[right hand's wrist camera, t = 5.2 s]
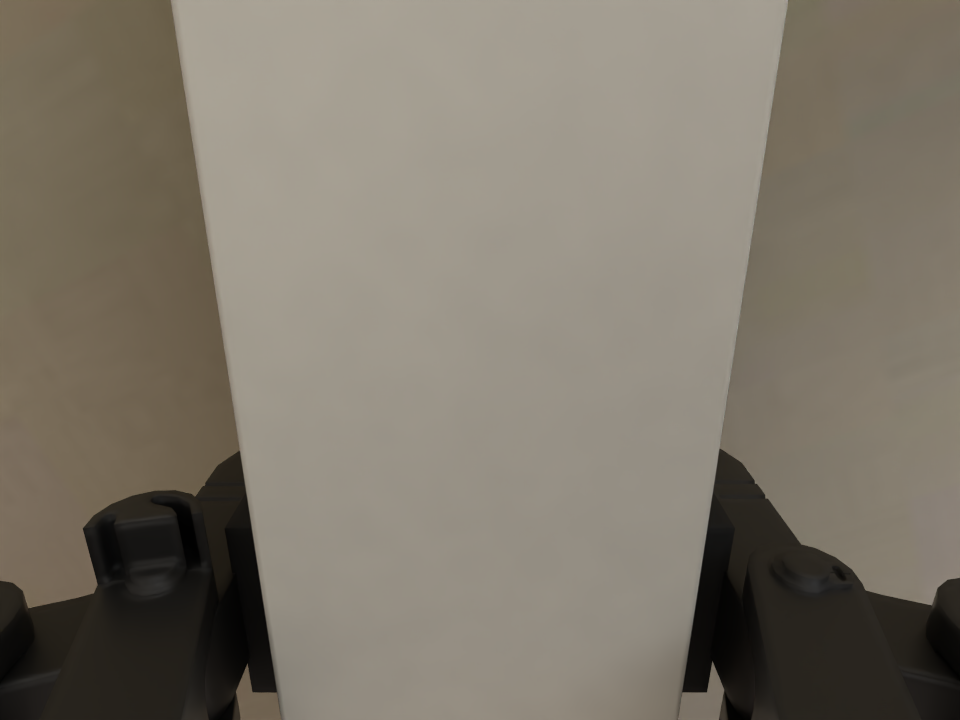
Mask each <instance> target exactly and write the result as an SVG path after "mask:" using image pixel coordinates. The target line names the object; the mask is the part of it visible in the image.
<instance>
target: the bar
mask: <svg viewBox="0 0 960 720" xmlns="http://www.w3.org/2000/svg"><path fill="white" fill-rule="evenodd" d="M787 5H788V0H171V6H172V13H173V19H174V25H175V32H176V38H177V45H178V51H179V58H180V64H181V71H182V77H183V84H184V90H185V97H186V103H187V110H188V116H189V123H190V129H191V136H192V142H193V149H194V155H195V162H196V168H197V175H198V181H199V188H200V194H201V201H202V207H203V214H204V220H205V227H206V233H207V240H208V246H209V253H210V259H211V266H212V272H213V279H214V285H215V292H216V298H217V305H218V311H219V318H220V324H221V331H222V337H223V344H224V350H225V357H226V363H227V370H228V376H229V383H230V389H231V396H232V402H233V409H234V415H235V422H236V428H237V435H238V441H239V448H240V454H241V461H242V467H243V474H244V480H245V487H246V493H247V500H248V506H249V513H250V519H251V526H252V532H253V539H254V545H255V551H256V558H257V564H258V571H259V577H260V584H261V590H262V597H263V603H264V610H265V616H266V623H267V629H268V636H269V642H270V649H271V655H272V662H273V668H274V675H275V681H276V688H277V694H278V701H279V707H280V714H281V720H678V716H679V709H680V703H681V696H682V690H683V683H684V677H685V670H686V664H687V657H688V651H689V644H690V638H691V631H692V625H693V618H694V612H695V605H696V599H697V592H698V586H699V579H700V573H701V566H702V559H703V553H704V546H705V540H706V533H707V527H708V520H709V514H710V507H711V501H712V494H713V488H714V481H715V475H716V468H717V462H718V455H719V449H720V442H721V436H722V429H723V423H724V416H725V409H726V403H727V396H728V390H729V383H730V377H731V370H732V364H733V357H734V351H735V344H736V338H737V331H738V325H739V318H740V312H741V305H742V299H743V292H744V286H745V279H746V273H747V266H748V260H749V253H750V246H751V240H752V233H753V227H754V220H755V214H756V207H757V201H758V194H759V188H760V181H761V175H762V168H763V162H764V155H765V149H766V142H767V136H768V129H769V123H770V116H771V110H772V103H773V97H774V90H775V83H776V77H777V70H778V64H779V57H780V51H781V44H782V38H783V31H784V25H785V18H786V12H787Z"/></svg>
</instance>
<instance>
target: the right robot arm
mask: <svg viewBox="0 0 960 720" xmlns="http://www.w3.org/2000/svg"><path fill="white" fill-rule="evenodd" d="M205 484H206V485H205V486H203V487H202V488H201V490H200V491H199V492H198V494H197V495H196V497H194V496H193V495H192V494H189V493H185V492H180V491H176V490H170V491H152V492H148V493H143V494H138V495H134V496H131V497H128V498H126V499H123V500H121V501H118V502H116V503H113V504H111V505H109V506H108V507H106V508H105V509H103V510H102V511H100V512H99V513H97V514H95V515H94V516H93V517H92V518H91V519H90V521H89V522H88V523H87V524H86V525H85V526H84V528H83V531H84V535H85V538H86V542H87V546H88V550H89V553H90V557H91V561H92V564H93V568H94V572H95V576H96V579H97V583H98V586H97V588H96V590H95V592H94V594H90V595H86V596H83V597H79V598H75V599H70V600H66V601H61V602H56V603H51V604H47V605H42V606H37V607H33V608H28V606H27V603H26V600H25V597H24V594H23V591H22V590H21V589H20V588H18V587H17V586H16V585H15V584H14V583H11V582H4V581H0V720H240V713H239V706H238V700H237V695H236V690H237V687H238V685H239V682H240V680H241V678H242V675H243V673H244V670H245V668H246V666H247V663H248V668H249V674H250V680H251V685H252V691H253V692H277V688H276V681H275V675H274V668H273V662H272V655H271V649H270V642H269V636H268V629H267V623H266V616H265V610H264V603H263V597H262V590H261V584H260V577H259V571H258V564H257V558H256V551H255V545H254V539H253V532H252V526H251V519H250V513H249V506H248V500H247V493H246V487H245V480H244V474H243V467H242V461H241V454H240V451H239V452H237V453H236V454H234V455H233V456H231V457H230V458H228V459H227V460H225V461H224V462H222V463H221V464H219V465H218V466H217V468H216V469H215V470H214V472H213V473H212V474H211V476H210V477H209V479H208V480H207V481H206V483H205ZM712 661H713V663H714V666H715V668H716V671H717V673H718V675H719V678H720V680H721V683H722V685H723V687H724V695H723V700H722V705H721V711H720V716H719V720H960V578H957V579H950V580H947V581H946V582H944V583H943V584H942V585H941V586H940V587H938V589H937V592H936V595H935V598H934V601H933V605H932V606H931V605H927V604H922V603H917V602H912V601H908V600H903V599H898V598H894V597H889V596H884V595H880V594H876V593H873V592H869V591H866V590H865V589H864V587H863V584H862V583H861V581H860V580H859V579H858V577H857V576H856V575H855V573H854V572H853V570H852V569H850V568H849V567H848V566H846V565H845V564H844V563H842V562H841V561H840V560H838V559H837V558H836V557H833V556H831V555H829V554H827V553H825V552H822V551H820V550H818V549H816V548H813V547H808V546H804V545H801V544H800V542H799V541H798V540H797V538H796V537H795V535H794V534H793V533H792V531H791V530H790V529H789V527H788V526H787V524H786V523H785V522H784V520H783V519H782V518H781V516H780V515H779V513H778V512H777V511H776V509H775V508H774V507H773V505H772V504H771V502H770V501H769V500H768V499H765V494H764V493H763V492H762V490H761V489H760V487H759V486H758V485H757V484H755V483H754V479H753V478H752V476H751V475H750V474H749V472H748V471H747V470H746V468H745V467H744V465H743V464H742V463H741V462H739V461H738V460H736V459H735V458H733V457H732V456H730V455H729V454H727V453H726V452H724V451H723V450H721V449H719V455H718V462H717V468H716V475H715V481H714V488H713V494H712V501H711V507H710V514H709V520H708V527H707V533H706V540H705V546H704V553H703V559H702V566H701V573H700V579H699V586H698V592H697V599H696V605H695V612H694V618H693V625H692V631H691V638H690V644H689V651H688V657H687V664H686V670H685V677H684V683H683V690H682V692H707V689H708V683H709V677H710V671H711V665H712Z"/></svg>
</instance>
